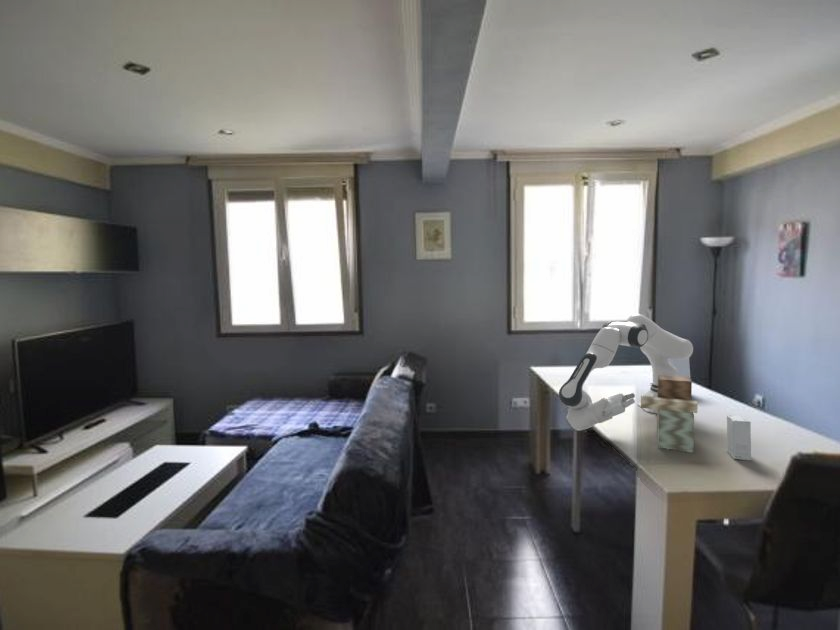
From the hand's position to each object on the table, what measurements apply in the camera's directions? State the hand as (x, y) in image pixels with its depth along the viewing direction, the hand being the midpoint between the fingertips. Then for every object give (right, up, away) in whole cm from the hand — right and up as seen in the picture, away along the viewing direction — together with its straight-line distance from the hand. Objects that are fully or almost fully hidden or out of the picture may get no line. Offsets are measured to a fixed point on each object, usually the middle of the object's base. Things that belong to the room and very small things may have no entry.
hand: (634, 397), depth 184 cm
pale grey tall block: (+60, -12, +73) cm, 95 cm away
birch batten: (+11, -4, -5) cm, 13 cm away
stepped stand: (+16, -18, -1) cm, 24 cm away
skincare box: (+31, -19, -17) cm, 41 cm away
